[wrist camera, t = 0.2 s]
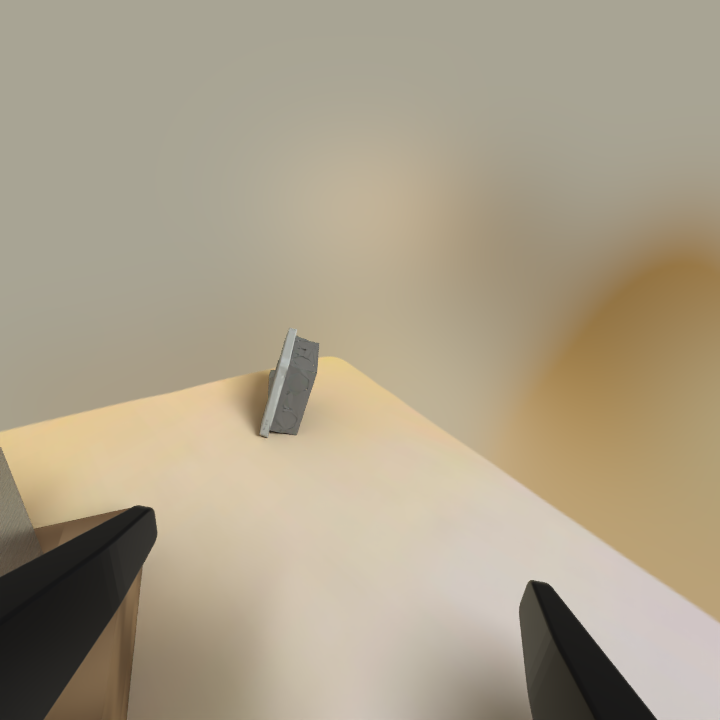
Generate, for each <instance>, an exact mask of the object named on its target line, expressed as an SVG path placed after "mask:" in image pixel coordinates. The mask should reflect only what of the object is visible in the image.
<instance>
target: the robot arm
mask: <svg viewBox="0 0 720 720" xmlns="http://www.w3.org/2000/svg"><path fill="white" fill-rule="evenodd" d="M156 538H157V526H156V519H155V512H154V510H153V509H152V508H151V507H145V506H140V505H137V506H134V507H132V508H130V509H128V510H126V511H124V512H122V513H120V514H118V515H116V516H114V517H113V518H111V519H109V520H107V521H105V522H103V523H101V524H99V525H97V526H96V527H94V528H92V529H90V530H88V531H86V532H84V533H82V534H80V535H78V536H77V537H75V538H73V539H71V540H69V541H67V542H65V543H63V544H61V545H59V546H58V547H56V548H54V549H52V550H50V551H48V552H46V553H44V554H42V555H40V556H39V557H37V558H35V559H33V560H31V561H29V562H27V563H25V564H23V565H22V566H20V567H18V568H16V569H14V570H12V571H10V572H8V573H6V574H4V575H3V576H1V577H0V720H44V719H45V717H46V716H47V714H48V713H49V711H50V710H51V708H52V707H53V705H54V704H55V702H56V701H57V699H58V698H59V696H60V695H61V693H62V692H63V690H64V689H65V687H66V686H67V684H68V683H69V681H70V680H71V678H72V677H73V675H74V674H75V672H76V671H77V669H78V668H79V666H80V665H81V663H82V662H83V661H84V659H85V658H86V656H87V655H88V653H89V652H90V650H91V649H92V647H93V646H94V644H95V643H96V641H97V640H98V638H99V637H100V635H101V634H102V632H103V631H104V629H105V628H106V626H107V625H108V623H109V622H110V620H111V619H112V617H113V616H114V614H115V613H116V611H117V610H118V608H119V606H120V605H121V603H122V601H123V600H124V598H125V596H126V595H127V593H128V591H129V589H130V587H131V585H132V584H133V582H134V580H135V578H136V576H137V574H138V573H139V571H140V569H141V567H142V565H143V563H144V562H145V560H146V558H147V556H148V554H149V553H150V551H151V549H152V547H153V545H154V543H155V541H156ZM519 618H520V627H521V637H522V646H523V655H524V664H525V673H526V682H527V690H528V697H529V702H530V708H531V712H532V717H533V720H657V719H656V717H655V716H654V715H653V714H652V712H651V711H650V710H649V709H648V707H647V706H646V705H645V704H644V702H643V701H642V700H641V699H640V697H639V696H638V695H637V694H636V692H635V691H634V690H633V688H632V687H631V686H630V685H629V683H628V682H627V681H626V680H625V678H624V677H623V676H622V675H621V673H620V672H619V671H618V670H617V668H616V667H615V666H614V665H613V663H612V662H611V661H610V660H609V658H608V657H607V656H606V654H605V653H604V652H603V651H602V649H601V648H600V647H599V646H598V644H597V643H596V642H595V641H594V639H593V638H592V637H591V636H590V634H589V633H588V632H587V631H586V629H585V628H584V627H583V626H582V624H581V623H580V622H579V620H578V619H577V618H576V617H575V615H574V614H573V613H572V612H571V610H570V609H569V608H568V607H567V605H566V604H565V603H564V602H563V600H562V599H561V598H560V597H559V595H558V594H557V593H556V592H555V590H554V589H553V588H552V587H551V586H550V585H549V584H548V583H545V582H540V581H534V580H530V581H529V582H528V584H527V586H526V589H525V591H524V594H523V597H522V600H521V603H520V607H519Z"/></svg>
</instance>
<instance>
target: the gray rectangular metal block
mask: <svg viewBox="0 0 720 720" xmlns="http://www.w3.org/2000/svg"><path fill="white" fill-rule="evenodd" d="M42 554H43V551H42V549H41V546H40V544H39V541H38V539H37V536H36V534H35V531H34V529H33V526H32V524H31V521H30V519H29V516H28V514H27V511H26V509H25V506H24V504H23V501H22V499H21V496H20V494H19V491H18V489H17V486H16V484H15V481H14V479H13V476H12V474H11V471H10V469H9V466H8V464H7V461H6V459H5V456H4V454H3V451H2V449H1V447H0V577H1V576H3V575H4V574H6V573H8V572H10V571H12V570H14V569H16V568H18V567H20V566H22V565H23V564H25V563H27V562H29V561H31V560H33V559H35V558H37V557H39V556H40V555H42Z"/></svg>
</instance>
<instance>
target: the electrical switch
mask: <svg viewBox="0 0 720 720" xmlns="http://www.w3.org/2000/svg"><path fill="white" fill-rule="evenodd" d="M296 332H297V329H292V328H289V331H288V333H287V336H286V339H285V341H284V345H283V348H282V352H281V355H280V359H279V361H278V364H277V367H276V370H271V372H270V375H269V389H268V401H267V405H266V408H265V412H264V415H263V419H262V422H261V427H260V434H259V435H261V436H264V437H267V438H268V434H269V431H270V430H271V431H275V432H279V433H288V434H292V435H297V432H298V429H299V426H300V423H301V420H302V417H303V414H304V411H305V408H306V405H307V402H308V399H309V396H310V393H311V389H312V386H313V383H314V380H315V377H316V373H317V366H318V352H319V351H318V350H319V343H315V342H311V341H308V340H306V339H303V338H300V337H298V336H296ZM313 365H314V366H313ZM313 372H314V373H313ZM306 389H307V390H306Z"/></svg>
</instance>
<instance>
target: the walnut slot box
mask: <svg viewBox="0 0 720 720" xmlns="http://www.w3.org/2000/svg"><path fill="white" fill-rule="evenodd" d="M128 509H130V508H128ZM128 509H123V510H118V511H114V512H109V513H105V514H100V515H96V516H91V517H86V518H82V519H77V520H73V521H68V522H64V523H59V524H54V525H50V526H45V527H41V528H36V529H34V531H35V534H36V536H37V539H38V541H39V544H40V546H41V549H42V551H43V554H44V553H46V552H48V551H50V550H52V549H54V548H56V547H58V546H59V545H61V544H63V543H65V542H67V541H69V540H71V539H73V538H75V537H77V536H78V535H80V534H82V533H84V532H86V531H88V530H90V529H92V528H94V527H96V526H97V525H99V524H101V523H103V522H105V521H107V520H109V519H111V518H113V517H114V516H116V515H118V514H120V513H122V512H124V511H126V510H128ZM141 575H142V567H141V569H140V571H139V573H138V574H137V576H136V578H135V580H134V582H133V584H132V585H131V587H130V589H129V591H128V593H127V595H126V596H125V598H124V600H123V601H122V603H121V605H120V606H119V608H118V610H117V611H116V613H115V614H114V616H113V617H112V619H111V620H110V622H109V623H108V625H107V626H106V628H105V629H104V631H103V632H102V634H101V635H100V637H99V638H98V640H97V641H96V643H95V644H94V646H93V647H92V649H91V650H90V652H89V653H88V655H87V656H86V658H85V659H84V661H83V662H82V663H81V665H80V666H79V668H78V669H77V671H76V672H75V674H74V675H73V677H72V678H71V680H70V681H69V683H68V684H67V686H66V687H65V689H64V690H63V692H62V693H61V695H60V696H59V698H58V699H57V701H56V702H55V704H54V705H53V707H52V708H51V710H50V711H49V713H48V714H47V716H46V717H45V719H44V720H126V719H127V709H128V700H129V690H130V680H131V671H132V661H133V652H134V642H135V632H136V623H137V613H138V604H139V594H140V585H141Z"/></svg>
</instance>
